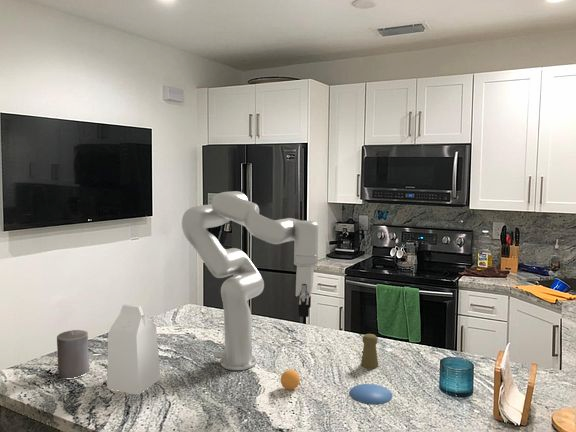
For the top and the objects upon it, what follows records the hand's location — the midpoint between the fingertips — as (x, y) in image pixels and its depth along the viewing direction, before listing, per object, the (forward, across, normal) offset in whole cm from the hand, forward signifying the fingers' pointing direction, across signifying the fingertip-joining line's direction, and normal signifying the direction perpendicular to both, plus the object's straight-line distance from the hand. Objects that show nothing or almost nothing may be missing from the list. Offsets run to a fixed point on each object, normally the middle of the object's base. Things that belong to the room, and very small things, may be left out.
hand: (304, 311), depth 159 cm
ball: (+20, +7, -4) cm, 22 cm away
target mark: (+22, +8, +21) cm, 32 cm away
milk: (+24, +9, -54) cm, 60 cm away
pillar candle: (+25, +3, -78) cm, 81 cm away
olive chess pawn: (+23, -14, +22) cm, 35 cm away
